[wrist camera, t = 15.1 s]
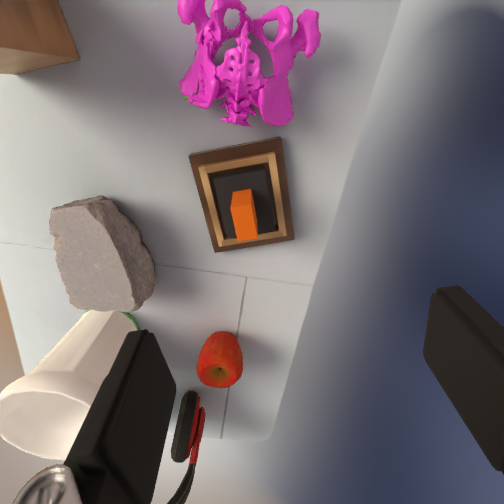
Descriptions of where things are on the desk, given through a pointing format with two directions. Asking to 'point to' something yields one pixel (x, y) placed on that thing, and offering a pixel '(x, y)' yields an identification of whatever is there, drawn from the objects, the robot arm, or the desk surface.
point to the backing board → (234, 161)
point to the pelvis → (245, 60)
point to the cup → (63, 386)
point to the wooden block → (33, 36)
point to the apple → (220, 361)
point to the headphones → (187, 441)
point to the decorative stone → (101, 256)
